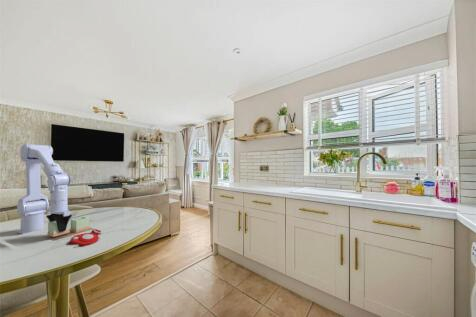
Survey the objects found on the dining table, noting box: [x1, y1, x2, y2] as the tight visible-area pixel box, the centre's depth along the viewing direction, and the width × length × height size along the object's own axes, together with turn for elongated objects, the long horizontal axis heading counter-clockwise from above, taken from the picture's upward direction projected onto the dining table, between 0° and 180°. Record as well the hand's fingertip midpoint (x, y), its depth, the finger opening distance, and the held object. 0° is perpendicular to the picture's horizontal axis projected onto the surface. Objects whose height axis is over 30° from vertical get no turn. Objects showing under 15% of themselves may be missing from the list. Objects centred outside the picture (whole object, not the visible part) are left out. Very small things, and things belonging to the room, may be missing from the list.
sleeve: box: [47, 220, 70, 237], centre depth 83 cm, size 6×6×6 cm
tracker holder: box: [68, 228, 103, 247], centre depth 78 cm, size 12×4×10 cm
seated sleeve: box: [69, 216, 91, 232], centre depth 90 cm, size 6×6×6 cm
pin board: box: [44, 227, 94, 241], centre depth 86 cm, size 10×15×4 cm, turn 155°
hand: (58, 230), depth 83 cm, fingers closed on sleeve, 5 cm apart
